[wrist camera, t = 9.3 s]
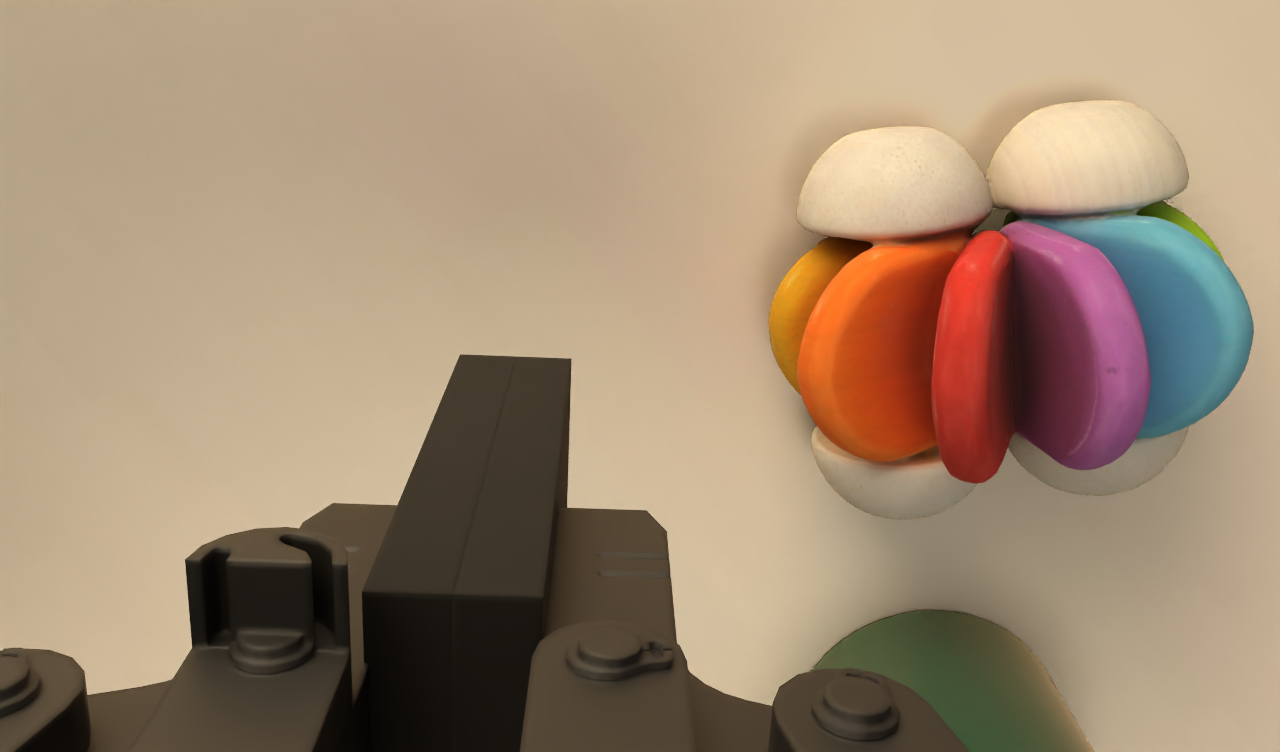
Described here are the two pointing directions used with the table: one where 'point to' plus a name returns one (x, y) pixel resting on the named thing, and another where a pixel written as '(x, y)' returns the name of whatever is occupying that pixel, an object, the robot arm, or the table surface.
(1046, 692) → the pen cup
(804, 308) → the rainbow disc baby rattle
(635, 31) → the table surface
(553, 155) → the table surface
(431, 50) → the table surface
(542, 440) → the robot arm
